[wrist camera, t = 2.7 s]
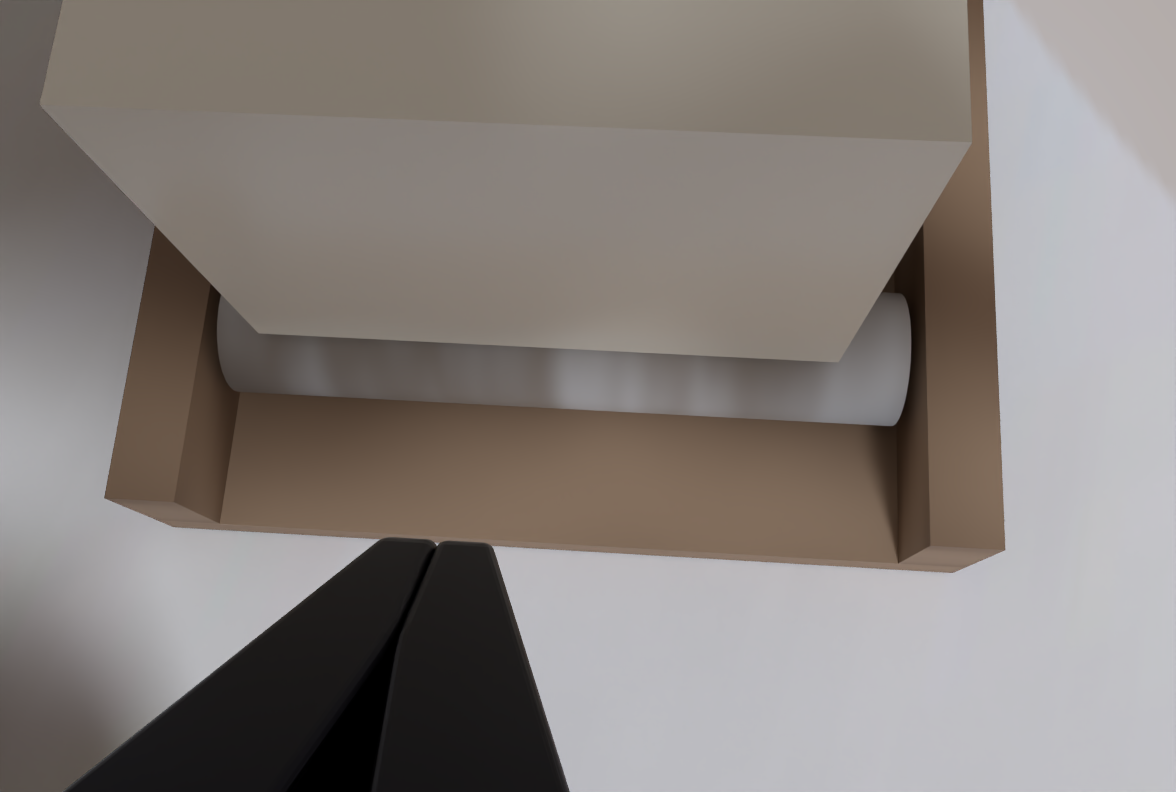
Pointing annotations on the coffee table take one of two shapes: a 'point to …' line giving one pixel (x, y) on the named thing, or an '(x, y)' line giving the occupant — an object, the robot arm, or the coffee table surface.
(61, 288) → the coffee table surface
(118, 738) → the coffee table surface
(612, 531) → the roller bed
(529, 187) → the limestone slab
